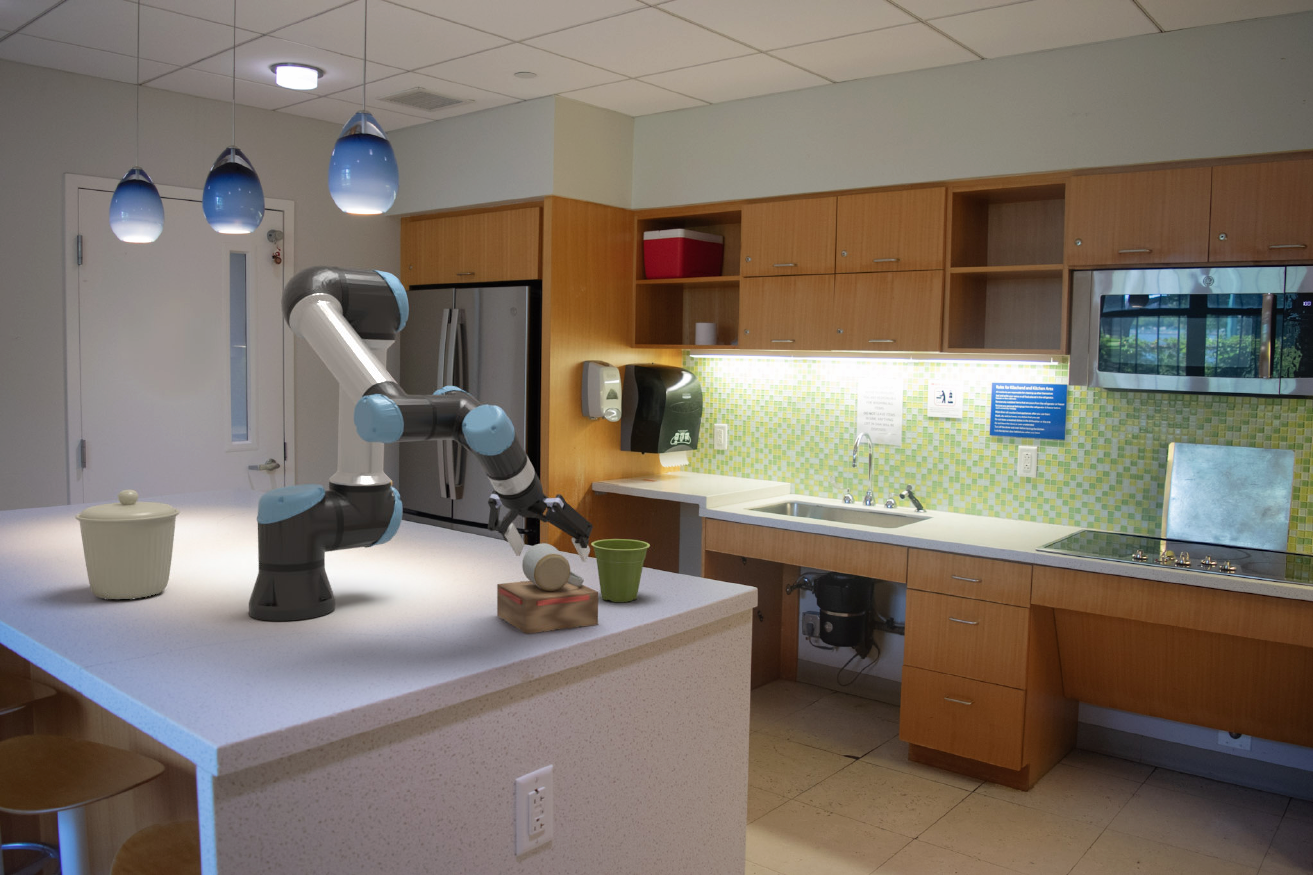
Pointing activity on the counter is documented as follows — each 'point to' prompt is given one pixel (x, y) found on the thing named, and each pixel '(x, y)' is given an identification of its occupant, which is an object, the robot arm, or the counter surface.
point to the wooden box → (546, 606)
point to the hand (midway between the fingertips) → (553, 552)
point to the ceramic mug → (548, 568)
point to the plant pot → (619, 567)
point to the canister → (128, 546)
